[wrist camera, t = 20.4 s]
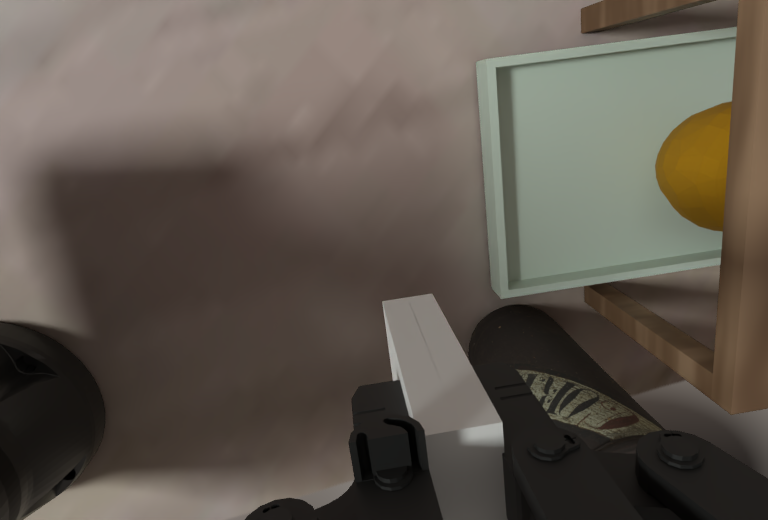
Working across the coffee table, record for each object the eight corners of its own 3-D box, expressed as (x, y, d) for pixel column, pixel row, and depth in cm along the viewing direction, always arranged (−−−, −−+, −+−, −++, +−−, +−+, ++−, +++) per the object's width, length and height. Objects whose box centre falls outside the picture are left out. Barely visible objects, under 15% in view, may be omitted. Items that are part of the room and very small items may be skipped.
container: (508, 280, 42) (658, 427, 23) (587, 337, 44) (783, 514, 25) (443, 362, 44) (532, 563, 24) (522, 413, 46) (661, 634, 27)
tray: (491, 287, 42) (501, 299, 39) (475, 61, 37) (486, 58, 34) (775, 243, 43) (801, 252, 41) (797, 20, 38) (829, 15, 36)
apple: (726, 213, 41) (829, 242, 33) (623, 218, 40) (701, 248, 32) (745, 99, 39) (862, 98, 30) (636, 102, 38) (724, 102, 29)
